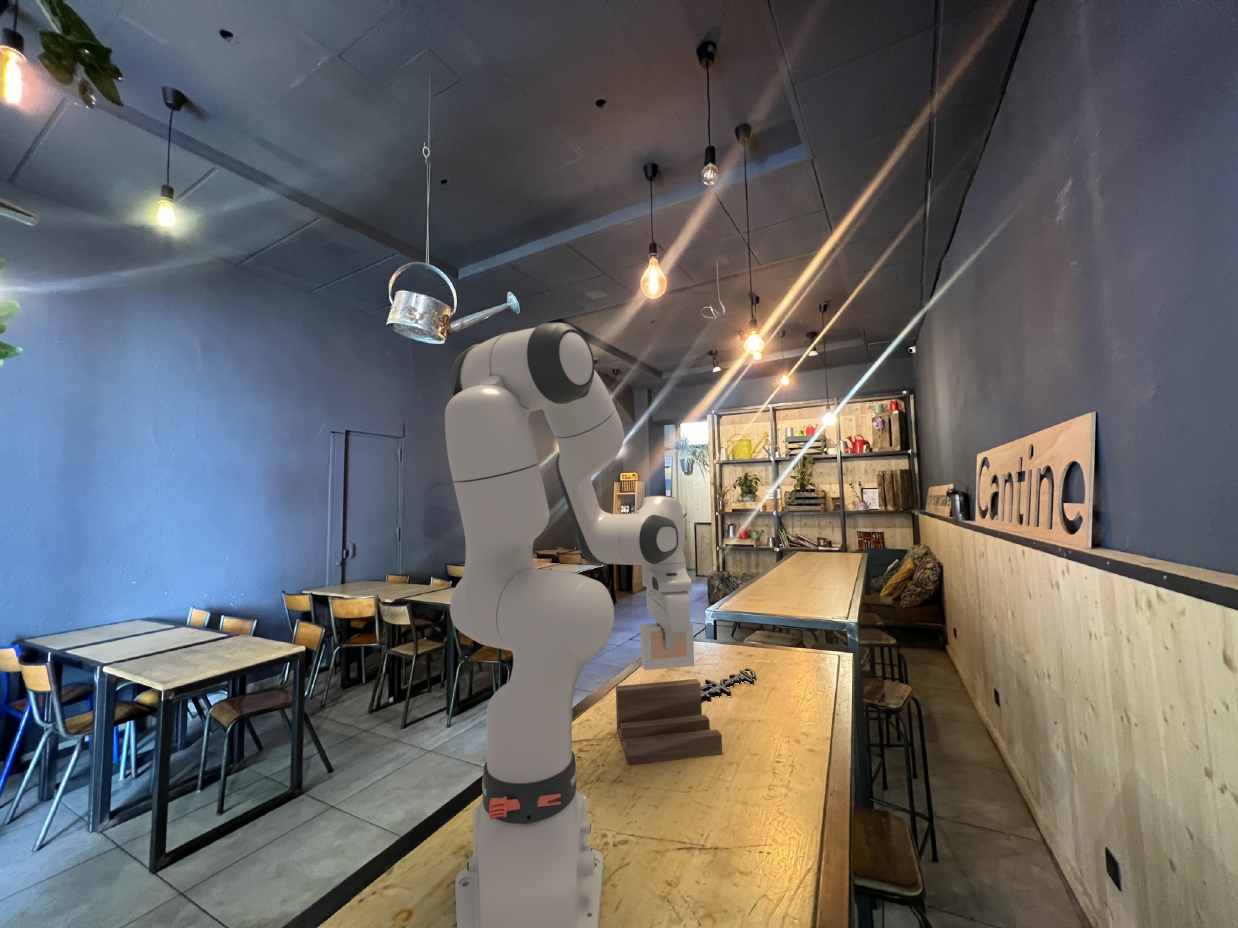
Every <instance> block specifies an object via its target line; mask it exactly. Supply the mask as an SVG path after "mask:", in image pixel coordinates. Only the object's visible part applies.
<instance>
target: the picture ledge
mask: <svg viewBox="0 0 1238 928" xmlns="http://www.w3.org/2000/svg"><path fill="white" fill-rule="evenodd" d="M701 687H702V685H701V682H700V681H699V679H698V678H693V679H683V680H682V679H680V680H668V681H660V682H657V681H656V682H647V683H637V684H636V683H635V684H625V685H616V686H615V702H616V703H615V704H616V705H615V706H616V710H615V711H616V732H617V734H618V737H619V740H620V743H621V746H622V749H623V752H624V755H625V758H626V761H627V764H628V766H629V765H630V766H631V765H637V764H639V765H640V764H649V763H650V764H651V763H656V762H657V763H658V762H664V761H665V762H667V761H674V760H682V759H693V758H700V757H708V756H718V755H723V740H722V739H723V738H722V737H723V736H722V735H723V734H721V732H720V731H719V730H718V728H717V729H711V728H710V718H709V717H708V716H707V714H703V713H702V712H703V711H702V707H703V706H702V703H701Z"/></svg>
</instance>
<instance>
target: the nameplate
mask: <svg viewBox="0 0 1238 928" xmlns="http://www.w3.org/2000/svg"><path fill="white" fill-rule="evenodd" d="M745 671H750V673H751V675H752V676H751V675H749V674H748V673H747V672H745ZM740 673H741V674H740ZM728 676H729V678H730V679H729V678H722V679H720V681H719V683H718V682H717V681H714V680H710V679H707V678H706V679H704V682H705V683H704V684H707V685H703V686H701V704H702V703H704V702H707V703H708V702H709V703H711V702H712V698H711V697H714V698H716V697H715V696H719V697H718V698H721V697H720V696H722V697H723V695H724V694H726V695H727V696H731V697H732V691H730V688H727V687H730V686H734V684H735V683H739V684H740V683H741V681H742V682H744V681H747V682H749V683H750V684H754V685H755V682H754V680H753V679H755V678H756V679H757V675H756V672H755V671H754V670H753V669H751V668H748V667H747V668H746V667H745V668H744V669H743V670H739V673H738V674H729V675H728ZM741 684H742V683H741ZM734 687H735V686H734ZM722 693H724V694H722ZM727 696H726V697H727Z"/></svg>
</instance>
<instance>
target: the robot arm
mask: <svg viewBox="0 0 1238 928" xmlns="http://www.w3.org/2000/svg"><path fill="white" fill-rule="evenodd" d="M450 386H451V391H452V392H451V393H452V394H451V395H452V397H451V399H450V400H449V401H448V403H447V404H446V407H445V411H444V429H445V431H444V432H445V444H446V450H447V457H448V458H447V459H448V462H449V463H448V465H449V469H450V470H449V471H450V475H451V477H452V482H453V483H452V484H453V486H454V492H455V495H456V500H457V503H458V508H459V513H460V517H461V522H462V527H463V528H462V529H463V532H464V538H465V540H464V541H465V561H464V562H465V563H464V571H463V574H462V577H461V579H460V580H459V582H457V584H456V586H455V588H454V589H453V592H452V595H451V597H450V598H451V599H450V604H449V613H450V614H449V615H450V618H451V621H452V624H453V625H454V627H455V628H456V629H457V630H458V631H459V632H460V633H461V634H463V635H465V636H466V637H467V638H470V639H471V640H473V641H475V642H477V643H479V644H480V645H483V646H487V647H492V648H496V649H499V650H505V651H510V652H511V653H512V658H513V660H512V661H513V664H512V670H511V675H510V678H509V681H508V682H507V683H504V685H502V686H500V687H499V688H498V689H497V690H496V692H494V694H493V695H492V697H491V698H490V699H489V701H488V704H487V708H486V761H485V763H484V765H483V774H482V781H481V782H482V784H481V787H482V788H481V790H482V801H481V802H480V803H479V804H478V805H476V807H475V808H474V810H473V811H472V858H468V861H467V862H466V864H467V865H466V867H465V868H463V869H462V870H461V871H459V872H458V874H457V875H456V876H455V883H454V898H455V899H454V902H455V901H456V908H455V923H456V922H457V928H598V927H599V928H600V926H599V925H600V918H599V913H600V914H601V907H600V904H601V903H602V895H603V893H602V892H603V884H604V883H603V882H604V871H605V859H604V855H603V853H602V852H600V851H599V850H597V849H595V848H592V845H590V844H589V835H590V834H591V833H592V821H591V820H588V807H587V805H588V801H587V796H586V795H584V792H583V793H582V792H581V791H580V790H579V789H578V788H577V772H578V771H577V763H576V755H575V754H576V753H574V750H573V705H574V704H573V703H574V695H575V691H576V687H577V683H578V680H579V678H580V675H581V673H582V671H583V669H585V667H586V665H587V664H588V663H589V661H591V660H592V659H594V658H595V656H597V655H598V654H599V653H601V651H602V650H603V649H604V647H606V645H607V643H608V641H609V640H610V638H611V635H612V634H613V633H612V632H613V629H614V623H615V607H614V602H613V599H612V597H611V594H610V592H609V589H608V588H607V587H606V585H604V584H603V583H602V582H601V581H599V580H596V579H593V578H592V577H588V576H586V575H583V574H580V573H576V572H573V571H568V570H567V571H566V570H557V569H540V568H537V566H536V565H535V563H534V556H533V555H534V554H533V551H534V550H533V549H534V541H535V539H537V538H538V537H539V536H540V535H541V534H543V532H544V531H545V529H546V528H547V526H548V524H549V521H550V508H549V507H550V506H549V504H548V499H547V494H546V490H545V485H544V481H543V475H542V472H541V466H540V461H539V457H538V455H537V454H538V453H537V450H536V446H535V442H534V440H533V435H532V432H531V430H530V427H529V419H530V413H531V412H534V411H538V410H539V411H540V410H542V411H543V414H544V416H545V419H546V421H547V423H548V425H549V428H550V430H551V432H552V434H553V437H554V438H555V440H556V443H557V447H558V450H559V451H558V454H557V456H556V459H555V468H556V469H555V470H556V474H557V478H558V482H559V485H560V488H561V491H562V494H563V496H564V499H565V502H566V505H567V507H568V510H569V514H570V515H571V516H570V517H571V519H572V522H573V525H574V527H575V534H576V538H577V539H576V540H577V544H578V547H579V551H580V553H581V554H582V556H583V557H584V559H585V560H586V562H588V563H590V564H591V565H594V566H604V565H606V566H607V565H628V566H634V565H635V566H641V571H642V572H641V575H642V576H641V578H642V581H641V582H642V586H643V587H646V611H647V614H648V615H649V616H650V618H651V617H652V619H653V620H654V621H655V623H658V624H660V625H661V626H662V627H663V628H664V631H665V640H664V645H665V646H664V647H665V649H666V650H667V651H668V652H670V651H674V650H675V640H676V636H677V635H685V634H687V633H688V631H689V627H690V623H691V598H690V593H689V592H692V591H693V583H692V579H691V577H690V576H689V574H688V571H687V567H686V566H687V563H686V562H687V561H686V557H685V553H684V544H685V539H686V537H685V525H684V516H683V510H682V506H681V503H680V500H678V498H676V497H674V496H671V495H670V496H669V495H661V494H655V495H654V494H653V495H647V496H646V497H644V498H643V499H642V502H641V503H642V505H641V508H639V509H638V510H637V511H635V512H634V513H610V512H607V511H605V510H603V509H602V508H601V507H600V504H599V501H598V498H597V495H596V491H595V489H594V486H593V483H592V476H594V475H596V474H597V473H599V472H601V471H603V470H604V469H606V468H607V467H608V466H609V465H610V464H611V463H613V461H614V460H615V459H616V457H617V456H618V455H619V453H620V452H621V450H622V447H623V445H624V439H625V431H624V427H623V422H622V421H621V418H620V417H621V416H620V415H619V413H618V410H617V408H616V406H615V404H614V402H613V399H612V397H611V395H610V393H609V391H608V389H607V387H606V385H605V384H604V382H603V381H602V378H601V377H600V376H599V374H598V372H597V370H596V369H595V359H594V355H593V350H592V348H591V345H590V344H589V342H588V340H587V339H586V337H585V336H584V335H583V334H582V333H581V332H580V331H578V329H576V328H575V327H573V326H572V325H570V324H569V323H564V322H547V323H542V324H540V325H538V326H536V327H532V328H525V329H521V330H517V331H510V332H505V333H502V334H500V335H497V336H494V337H492V338H490V339H487V340H485V341H483V342H482V343H477V344H473V345H471V346H469V347H468V348H466V349H465V350H464V351H462V352H461V353H460V354H459V355H458V356H457V357H456V358H455V359H454V363H452V367H451V374H450ZM601 905H602V904H601Z"/></svg>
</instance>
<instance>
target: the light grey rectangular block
mask: <svg viewBox="0 0 1238 928" xmlns="http://www.w3.org/2000/svg"><path fill="white" fill-rule="evenodd" d="M693 626H694V625H693V623H692V622H690V627H689V631H688V633H687V634H685V635H677V636H676V640H675V650H674V651H670V652H668V651H667V650H666V649H665V647H664V646H665V645H664V640H665V631H664V628H663V627H662V626H661V625H660V624H658V623H656V622H654V623H640V625H639V627H640V629H639V630H640V632H639V633H640V657H641V659H640V661H641V666H642V668H643V670H644V671H651V670H663V669H675V668H686V667H694V666H695V651H694V650H695V649H694V627H693Z"/></svg>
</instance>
